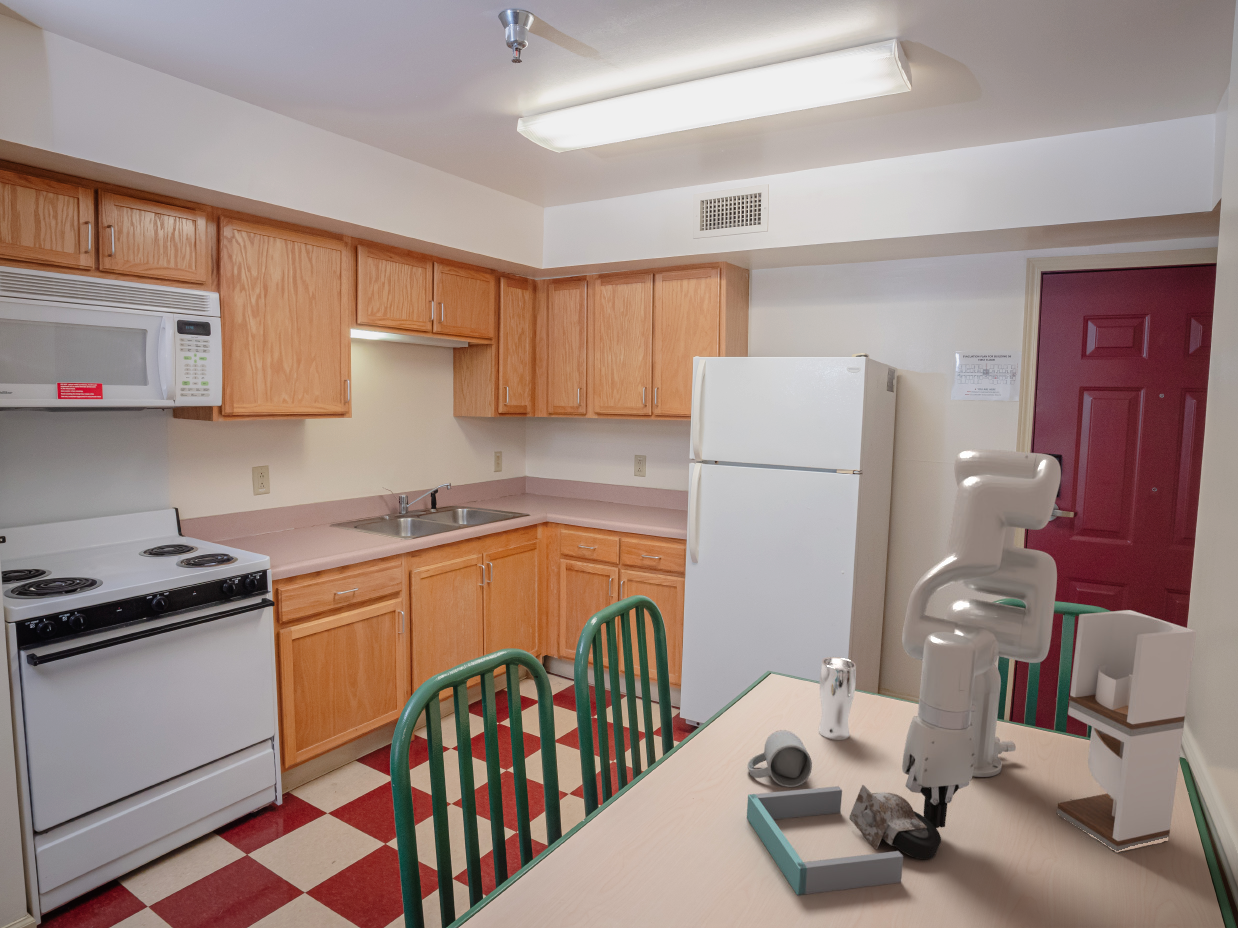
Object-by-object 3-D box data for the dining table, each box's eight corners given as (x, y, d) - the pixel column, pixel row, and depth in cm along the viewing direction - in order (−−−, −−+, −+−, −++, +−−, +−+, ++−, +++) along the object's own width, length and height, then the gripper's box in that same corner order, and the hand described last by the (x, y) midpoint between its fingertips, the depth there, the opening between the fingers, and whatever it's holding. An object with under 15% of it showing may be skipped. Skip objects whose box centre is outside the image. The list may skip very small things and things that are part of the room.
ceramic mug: (800, 764, 137) (802, 725, 137) (811, 788, 129) (813, 747, 128) (744, 762, 138) (745, 723, 137) (751, 786, 129) (753, 745, 129)
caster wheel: (942, 867, 113) (894, 874, 109) (891, 813, 123) (845, 818, 118) (958, 832, 111) (910, 838, 107) (905, 780, 121) (860, 783, 117)
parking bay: (836, 808, 123) (838, 785, 123) (901, 881, 106) (903, 856, 105) (746, 817, 120) (748, 794, 119) (797, 894, 102) (799, 868, 102)
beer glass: (851, 728, 152) (857, 659, 151) (850, 744, 146) (856, 671, 144) (817, 722, 155) (822, 654, 153) (814, 737, 148) (819, 666, 146)
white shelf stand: (1106, 804, 128) (1129, 609, 124) (1168, 841, 118) (1196, 630, 114) (1056, 814, 124) (1079, 614, 120) (1116, 853, 114) (1143, 636, 110)
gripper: (968, 699, 120) (958, 804, 122) (887, 705, 117) (878, 813, 119) (1002, 720, 113) (991, 831, 115) (917, 727, 109) (906, 842, 111)
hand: (934, 822), depth 117 cm, fingers closed
